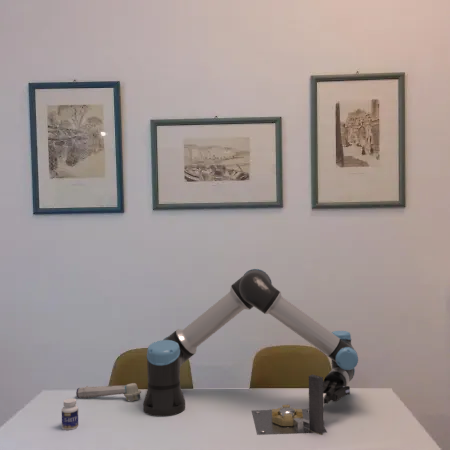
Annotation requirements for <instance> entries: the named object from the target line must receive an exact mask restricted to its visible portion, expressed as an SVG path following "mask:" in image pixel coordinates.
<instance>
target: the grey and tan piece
mask: <svg viewBox="0 0 450 450" xmlns="http://www.w3.org/2000/svg"><path fill="white" fill-rule="evenodd" d="M323 381H324V377H322V376H320V375H316V374H310V375H308V409H309V421H308V420H306V419H303V414H302V409H303V408H294V407H292V408H293V409H294V410H295V416H293V417H292V414H284V417H283V416H280V409H281V408H286V407H287V408H291V406H290V404H282V406H281V407H278V408H272V409H271V410H272V422H273V423H275V424H278V425H280V426H293V419H295V418H300V419H301V420H302V421H303V426H304V427H307V428H309V429H310V430H312V431H314V432H317V433H322V432H324V427H325V424H324V422H325V421H324V406H323ZM317 433H316V434H317ZM322 434H323V433H322Z"/></svg>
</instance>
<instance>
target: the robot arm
mask: <svg viewBox="0 0 450 450" xmlns="http://www.w3.org/2000/svg"><path fill="white" fill-rule="evenodd" d="M252 308H256V309H257V310H258V311H260V312H262V313H263V314H265V315H268V314H269V315H270V316H272V317H273V318H274V319H276V320H277V321H278V322H280V323H282V325H284V326H286V327H287V328H288V329H290V330H291V331H292V332H293V333H296V334H297V335H298V337H299V336H300V338H302V339H304V341H306V342H307V343H308V344H309V343H310V345H312V346H313V347H315V348H316V349H317V350H319V351H320V352H321V353H323V354H324V355H326V356H327V357H328V358H329V359H331V370H330V371H329V373H328V374H326V376H324V378H323V407H324V406H325V405H326V404H328V403H330V402H331V401H332V402H335V403H336V402H338V401H339V400H341V399H342V398H343V397H346V396H348V395H350V394H351V389H350V388H351V387H350V386H349V383H350V382H351V381H352V380H353V378H354V376H355V372H356V369H355V368H356V367H357V366H358V363H359V355H358V352H357V351H356V349H355V348H354V347H353V345H352V334H351V333H350V332H349V331H346V330H335V331H332V332H331V331H330V330H329V329H327V328H326V327H325V326H323V325H322V324H320V323H319V322H317V321H316V320H315V319H314V318H312V317H311V316H310V315H308V314H307V313H306V312H304V311H302V310H301V309H300V308H299V307H297V306H295V304H293V303H292V302H290V301H288V299H286V298H284V297H283V296H282V292H281V291H280V290H278V288H276V287H275V286H274V285H273V284H272V279H271V277H270V275H269V274H267V273H266V271H264V270H262V269H258V268H252V269H250V270H247V271H246V272H244V274H243V275H242V276H241V277H239V279H238V280H236V281H235V282H234V283H232V284H231V285H230V290H229V292H228V293H226V294H225V295H224V296H222V298H220V299H219V300H218V301H217V302H215V303H214V304H213V305H212V306H211V307H209V308H208V309H207V310H205V311H204V312H203V313H202V314H200V316H198V317H197V318H195V320H193V321H192V322H191V323H189V324H188V325H187V326H186V327H185V328H184V329H180V328H177V329H176V330H175V331H172V333H171V334H169V335H168V336H166V337H164V338H163V339H162V340H157V341H154V342H152V343H150V344H149V345H148V347H147V351H146V359H147V361H146V362H147V363H146V364H147V391H146V393H145V396H144V397H145V398H144V401H143V403H142V404H143V408H142V409H143V412H144V413H145V414H147V415H150V416H155V417H168V416H174V415H177V414H180V413H182V412H183V411H184V410H186V399H185V396H184V393H183V390H182V387H181V367H182V365H183V364H184V363H185V362H187V361H188V360H189V359H190V358H192V357H193V356H194V355H195V354H197V348H198V347H199V346H200V345H201V344H202V343H204V342H205V341H206V340H208V339H210V337H211V336H213V335H214V334H215V333H216V332H218V331H219V330H220V329H221V328H222V327H224V326H225V325H227V324H228V323H229V322H230V321H232V320H233V319H234V318H235V317H236V316H237V315H238V314H240V313H241V312H242V311H244V310H251V309H252Z"/></svg>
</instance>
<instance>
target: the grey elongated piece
mask: <svg viewBox="0 0 450 450" xmlns="http://www.w3.org/2000/svg"><path fill="white" fill-rule="evenodd" d="M75 394H76V397H77V399H86V400H87V399H89V398H97V397H105V396H114V395H115V396H116V395H123V396H124V397H125V400H126V401H127V402H128V401H129V403H130V402H134V401H135V400H136V401H138V400H139V401H140V399H141V394H142V391H141V390H140V389H139V388H138V385H137V383H135V382H132V383H127V384H125V385H104V386H89V385H86V386H84V387H78V388H77V389H76V391H75Z"/></svg>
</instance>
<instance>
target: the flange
mask: <svg viewBox="0 0 450 450" xmlns="http://www.w3.org/2000/svg"><path fill="white" fill-rule="evenodd" d="M280 408H281V409H280V416H283V417H284V414H292V417H293V416H295V410H294V409H295V408H294V407H290V408H287V407H286V408H282V407H280ZM293 408H294V409H293ZM301 409H302V414H303V419H306V420H308V421H309V408H301ZM251 414H252V418H253V419H252V420H253V423H254V427H255V431H256V435H257V436H263V435H291V434H293V435H294V434H295V435H297V434H298V435H299V434H318V435H319V436H323V433H324V434H326V433H327V434H328V431H327V429H326V428H325V426H324V432H322V433H317V432H314V431H312V430H310V429H309V428H307V427H304V426H303V421H302V420H301V419H300V418H295V419H293V426H280V425H278V424H275V423H273V422H272V409H260V410H257V409H256V410H253V409H252V410H251Z"/></svg>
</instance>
